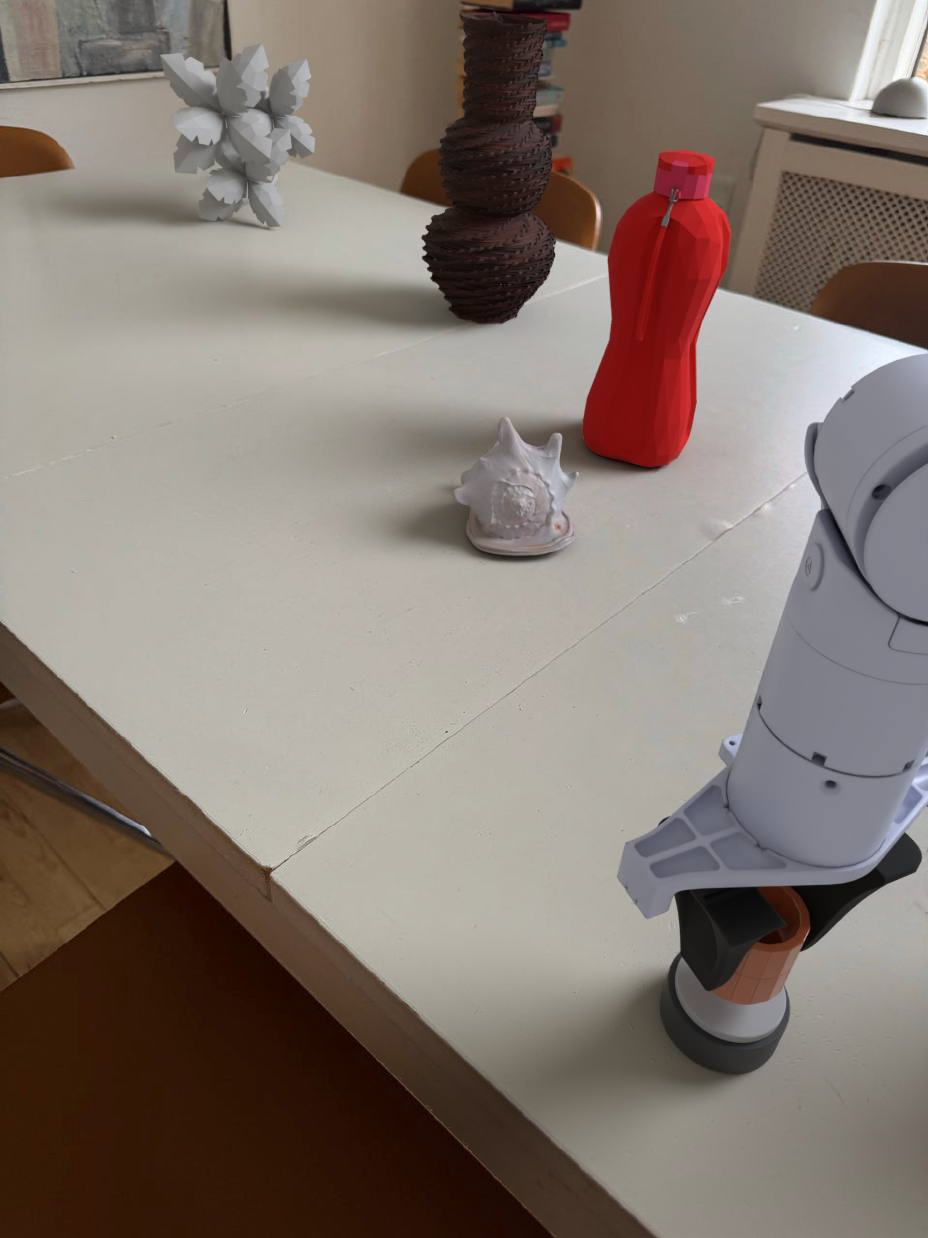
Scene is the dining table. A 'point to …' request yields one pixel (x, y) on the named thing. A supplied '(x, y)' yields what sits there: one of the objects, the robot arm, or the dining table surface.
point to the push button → (720, 1023)
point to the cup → (770, 952)
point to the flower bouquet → (239, 129)
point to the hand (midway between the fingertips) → (745, 950)
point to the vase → (494, 176)
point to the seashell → (518, 497)
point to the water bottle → (657, 314)
